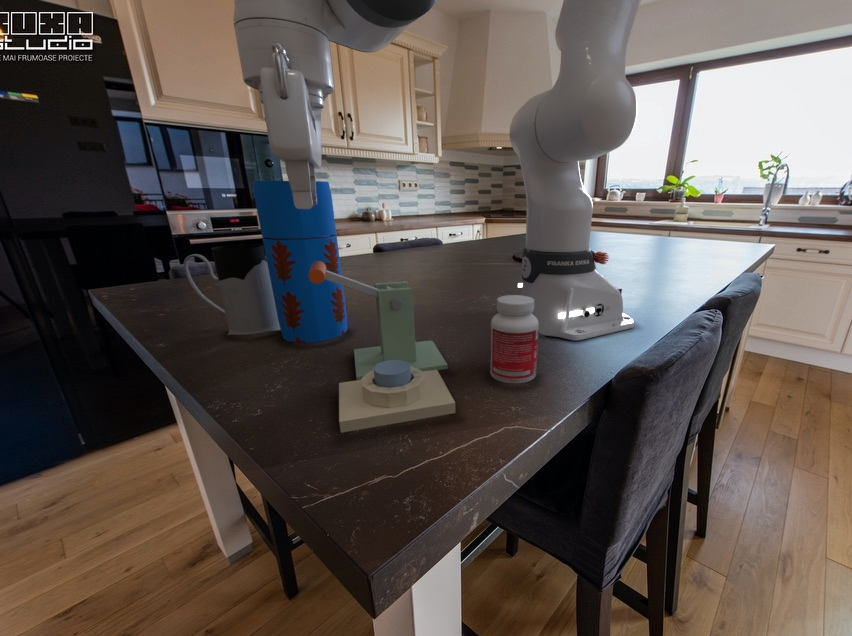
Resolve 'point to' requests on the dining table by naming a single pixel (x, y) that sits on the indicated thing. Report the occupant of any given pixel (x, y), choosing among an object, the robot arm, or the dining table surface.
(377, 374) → the power button
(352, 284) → the switch lever
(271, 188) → the thermos
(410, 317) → the green lever stand
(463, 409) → the dining table surface
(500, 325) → the pill bottle
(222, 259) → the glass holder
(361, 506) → the dining table surface
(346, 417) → the control block
